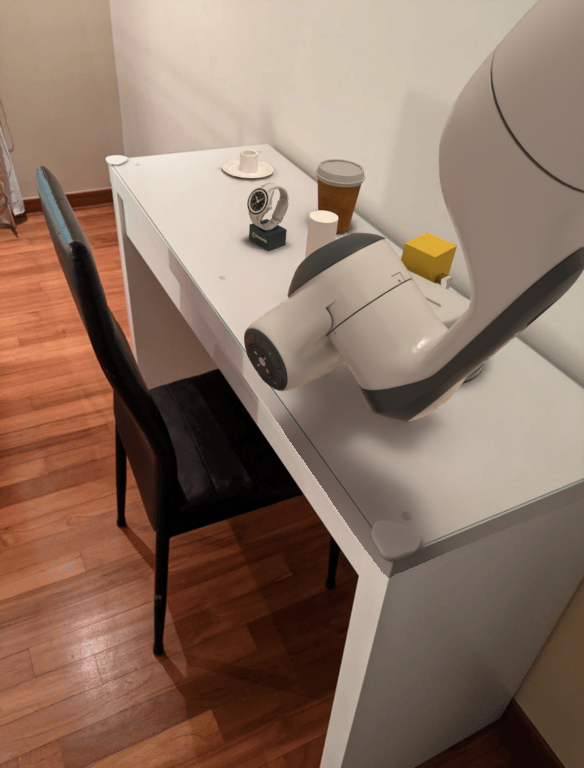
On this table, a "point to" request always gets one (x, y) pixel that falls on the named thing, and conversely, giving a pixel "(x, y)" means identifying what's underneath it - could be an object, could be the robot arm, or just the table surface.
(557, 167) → the robot arm
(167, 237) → the table surface
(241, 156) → the candle holder
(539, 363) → the table surface
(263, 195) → the watch
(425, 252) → the sponge
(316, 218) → the tube
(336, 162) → the disposable coffee cup
